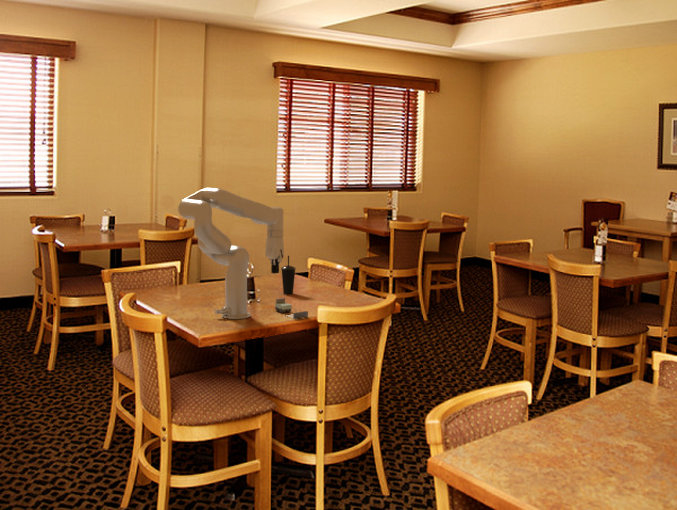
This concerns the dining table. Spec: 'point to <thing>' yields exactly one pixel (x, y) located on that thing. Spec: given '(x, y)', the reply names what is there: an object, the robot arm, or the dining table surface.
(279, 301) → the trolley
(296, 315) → the dock
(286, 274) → the drinking cup
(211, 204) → the robot arm
